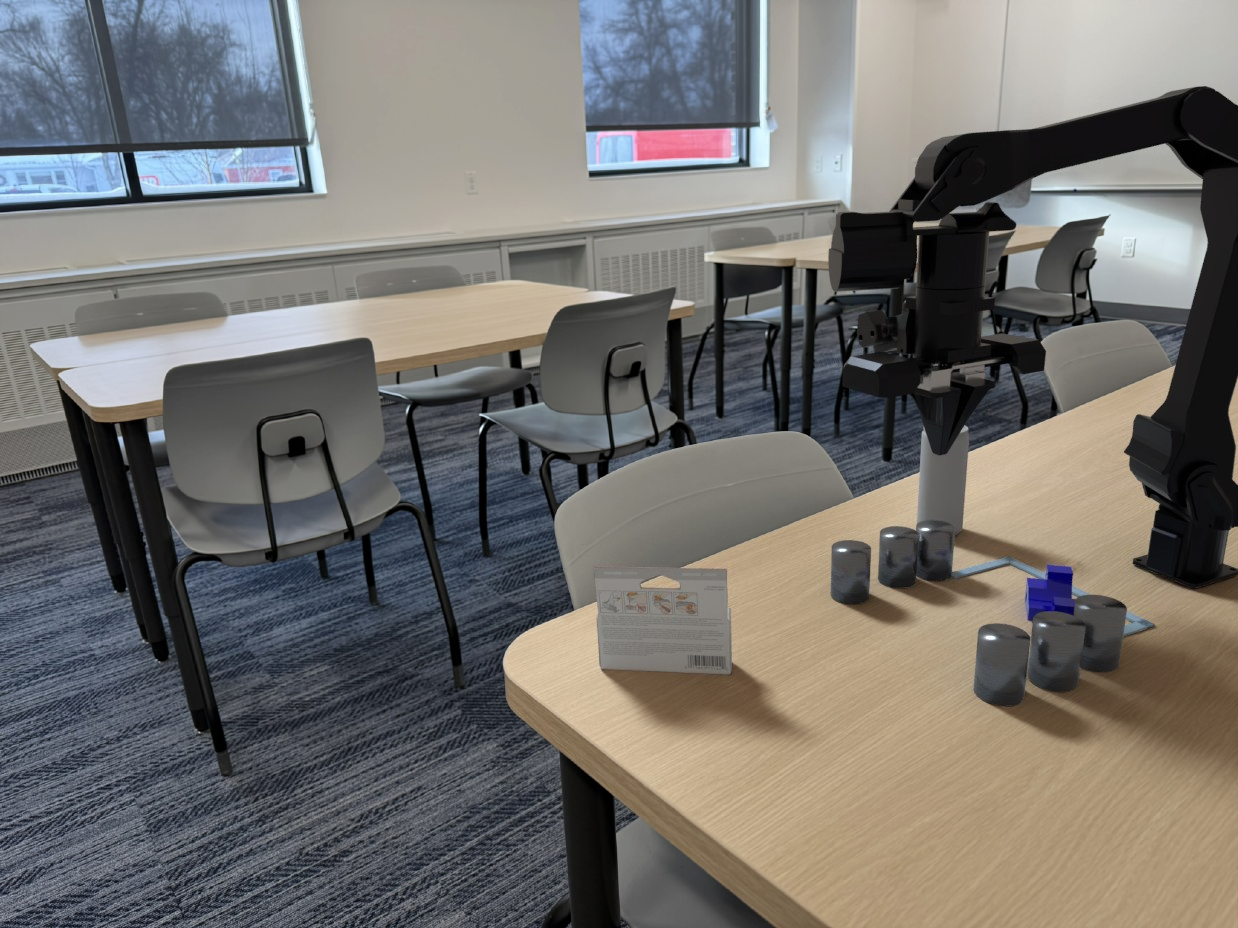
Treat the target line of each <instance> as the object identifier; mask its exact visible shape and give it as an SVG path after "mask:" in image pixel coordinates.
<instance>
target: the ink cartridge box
mask: <svg viewBox="0 0 1238 928" xmlns="http://www.w3.org/2000/svg"><path fill="white" fill-rule="evenodd" d="M592 570H593V571H592V572H593V578H594V579H593V580H594V588H595V597H596V605H597V606H596V607H597V615H596V633H597V644H598V645H597V646H598V661H599V662H598V663H599V667H600V669H601V670H614V671H615V670H617V671H634V672H635V671H637V672H638V671H639V672H640V671H641V672H657V673H658V672H659V673H660V672H662V673H663V672H664V673H679V674H680V673H682V674H685V673H686V674H705V675H726V676H729V675H731V673H732V666H733V658H732V657H733V655H732V654H733V651H732V647H733V646H732V643H733V642H732V609H731V607H728V605H729V601H728V600H729V597H728V596H729V595H728V569H727V568H715V567H714V568H709V567H707V568H701V567H698V568H697V567H692V568H691V567H645V566H644V567H641V566H639V567H638V566H636V567H635V566H631V567H630V566H593V567H592ZM656 576H663V577H665V578H667V579H670V580H672V581H675V582H677V583H679V587H646V586H642V585H641V583H642V582H643V581H646V580H648V579H651V578H653V577H656Z"/></svg>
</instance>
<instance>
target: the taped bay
mask: <svg viewBox="0 0 1238 928" xmlns="http://www.w3.org/2000/svg"><path fill="white" fill-rule="evenodd" d="M1007 565H1011V566H1013V567H1015V568H1017V569H1019V570H1021V571H1022V572H1023V571H1024V572H1026V573H1028V574H1030V575H1032V576H1034V577H1036V578H1037V579H1045V574H1046V572H1044V571H1042V570H1040V569H1037V568H1035V567H1033V566H1031V565H1028V564H1026V563H1024V562H1022V561H1021V560H1018V559H1016V558H1013V557H1011V556H1007V557H1006V556H1005V557H1002V558H999V559H995V560H991V561H988V562H983V563H980V564H977V565H974V566H973V565H972V566H970V567H965V568H962V569H958V570H954V571H952V575H951V578H953V579H959V578H964V577H966V576H969V575H974V574H977V573H980V572H981V573H982V572H985V571H989V570H992V569H996V568H999V567H1003V566H1007ZM1072 595H1074V596H1076V597H1077V598H1078V597H1079V596H1083V595H1092V594H1091V593H1089V592H1087V591H1085V590H1082V589H1081V588H1078V587H1076V586H1074V585H1072ZM1126 621H1128V622H1131V623H1128V624H1125V627H1124V634H1123V637H1126V636H1129V635H1132V634H1135V633H1138V632H1141V631H1144V630H1148V629H1150V628H1153V627H1155V623H1154V622H1152V621H1149V620H1148V619H1145V618H1143V617H1141V616H1139V615H1136V614H1134V613H1133V612H1130V611H1128V610H1127V614H1126Z"/></svg>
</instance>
